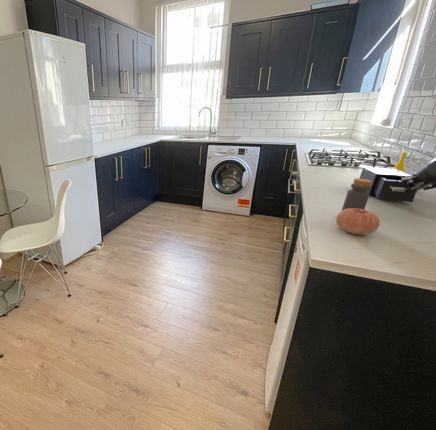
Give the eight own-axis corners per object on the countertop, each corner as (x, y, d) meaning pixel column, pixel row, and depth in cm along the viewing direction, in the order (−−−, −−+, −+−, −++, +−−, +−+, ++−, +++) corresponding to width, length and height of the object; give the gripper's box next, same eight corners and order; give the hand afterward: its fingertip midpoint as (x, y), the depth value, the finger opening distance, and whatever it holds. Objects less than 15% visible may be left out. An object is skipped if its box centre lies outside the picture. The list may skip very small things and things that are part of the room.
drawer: (417, 205, 112) (426, 185, 108) (382, 202, 116) (389, 182, 112) (396, 192, 127) (403, 175, 124) (365, 190, 131) (371, 172, 128)
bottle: (335, 216, 103) (348, 177, 98) (353, 218, 102) (367, 178, 97) (344, 223, 98) (358, 181, 93) (363, 224, 97) (378, 182, 91)
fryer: (404, 199, 122) (413, 176, 118) (368, 195, 126) (376, 173, 122) (388, 189, 134) (396, 169, 130) (356, 187, 138) (363, 167, 135)
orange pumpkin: (383, 240, 86) (393, 216, 83) (344, 238, 88) (352, 214, 85) (361, 226, 96) (369, 204, 93) (326, 224, 97) (333, 202, 94)
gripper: (416, 175, 96) (387, 198, 111) (469, 179, 91) (430, 202, 106) (414, 157, 98) (385, 182, 113) (465, 160, 94) (428, 185, 109)
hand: (407, 192), depth 110 cm, fingers closed
